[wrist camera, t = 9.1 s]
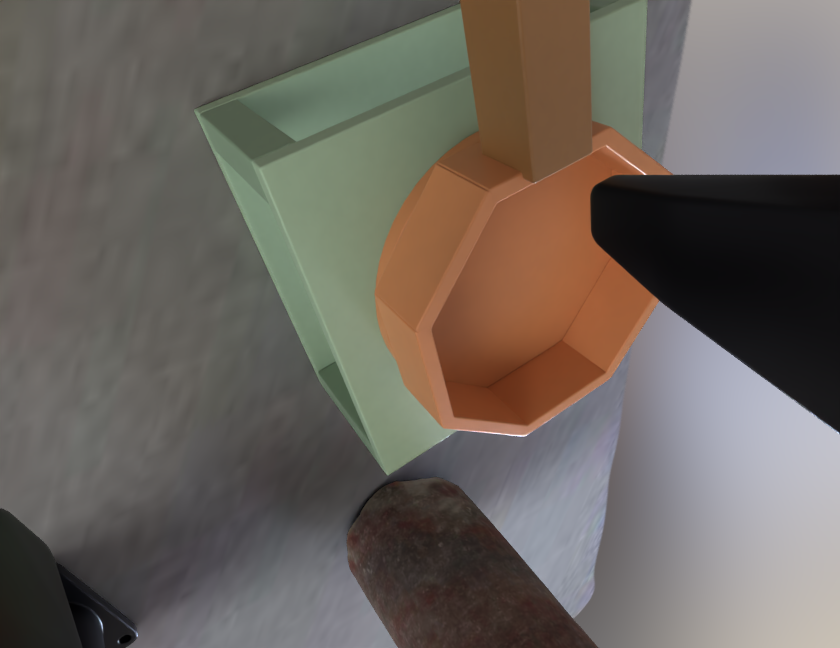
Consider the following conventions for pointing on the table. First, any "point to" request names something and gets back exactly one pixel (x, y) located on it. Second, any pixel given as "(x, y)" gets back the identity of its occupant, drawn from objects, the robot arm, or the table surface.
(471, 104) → the shelf
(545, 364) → the pan
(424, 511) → the candle
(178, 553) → the table surface
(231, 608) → the table surface
